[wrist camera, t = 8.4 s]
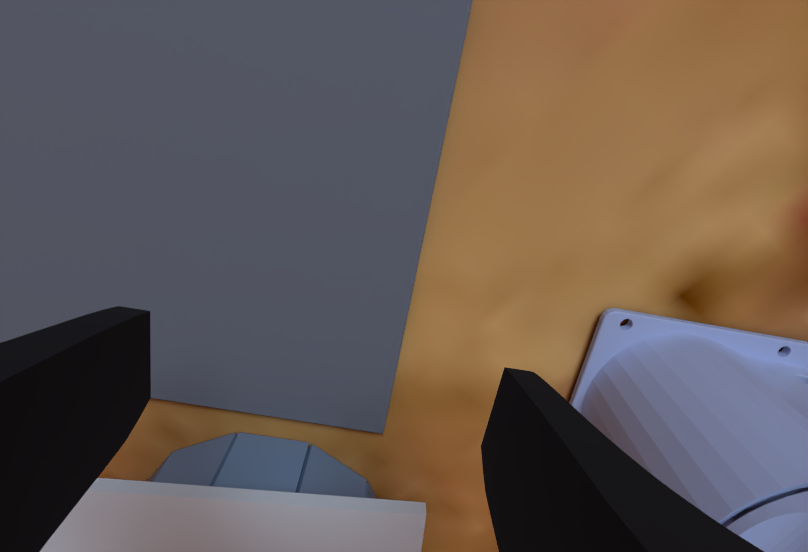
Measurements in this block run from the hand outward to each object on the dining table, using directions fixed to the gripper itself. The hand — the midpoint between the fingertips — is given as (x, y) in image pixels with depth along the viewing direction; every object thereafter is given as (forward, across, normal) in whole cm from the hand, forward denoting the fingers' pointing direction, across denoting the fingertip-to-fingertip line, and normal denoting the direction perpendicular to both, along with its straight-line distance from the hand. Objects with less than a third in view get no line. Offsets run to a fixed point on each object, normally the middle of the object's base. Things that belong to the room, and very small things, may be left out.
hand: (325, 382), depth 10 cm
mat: (+10, +7, 0) cm, 12 cm away
